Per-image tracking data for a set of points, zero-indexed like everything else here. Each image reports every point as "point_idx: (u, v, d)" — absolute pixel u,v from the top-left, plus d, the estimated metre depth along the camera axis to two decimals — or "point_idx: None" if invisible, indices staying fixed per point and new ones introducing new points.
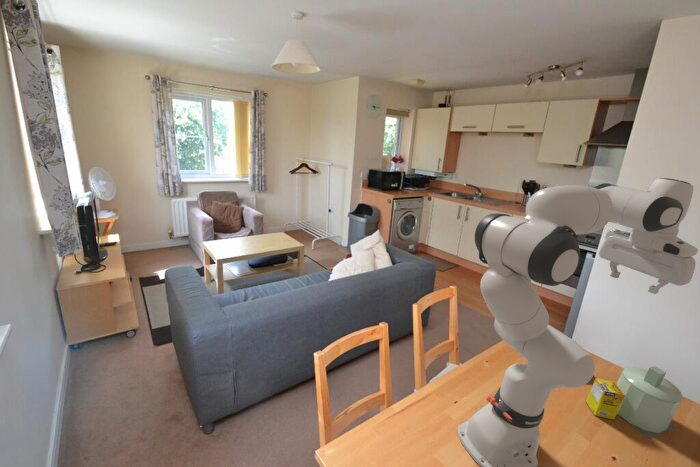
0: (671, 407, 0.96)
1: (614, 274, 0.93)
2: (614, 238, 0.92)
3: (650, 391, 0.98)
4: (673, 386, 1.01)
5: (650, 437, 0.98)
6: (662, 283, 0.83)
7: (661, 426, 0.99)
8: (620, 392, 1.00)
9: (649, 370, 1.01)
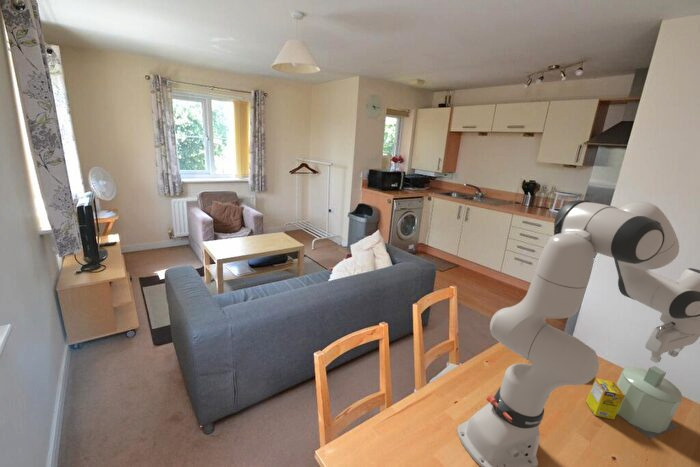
0: (671, 407, 0.96)
1: (659, 359, 0.97)
2: (672, 334, 0.91)
3: (650, 391, 0.98)
4: (673, 386, 1.01)
5: (650, 437, 0.98)
6: (683, 347, 0.99)
7: (661, 426, 0.99)
8: (620, 392, 1.00)
9: (649, 370, 1.01)
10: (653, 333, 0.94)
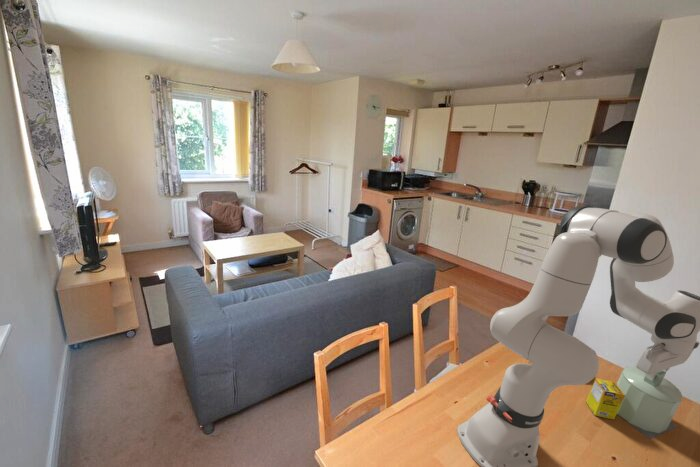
0: (671, 407, 0.96)
1: (655, 377, 1.00)
2: (662, 355, 0.94)
3: (650, 391, 0.98)
4: (673, 386, 1.01)
5: (650, 437, 0.98)
6: (669, 367, 1.01)
7: (661, 426, 0.99)
8: (620, 392, 1.00)
9: None
10: (643, 353, 0.96)
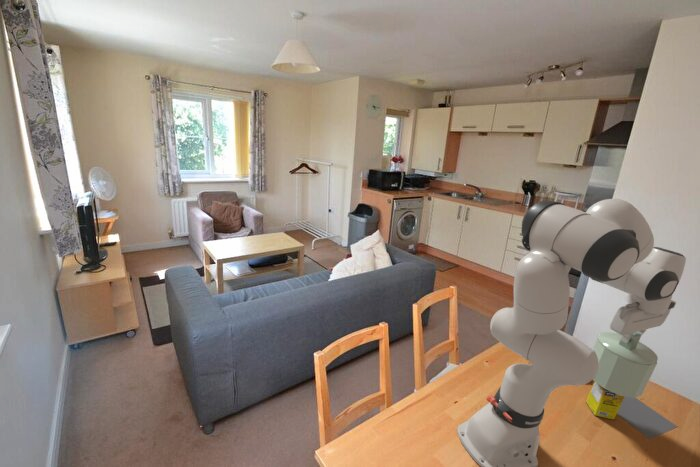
0: (646, 369, 0.92)
1: (630, 340, 0.95)
2: (635, 314, 0.89)
3: (624, 354, 0.94)
4: (649, 350, 0.97)
5: (650, 437, 0.98)
6: (645, 330, 0.96)
7: (636, 390, 0.94)
8: None
9: None
10: (617, 313, 0.92)
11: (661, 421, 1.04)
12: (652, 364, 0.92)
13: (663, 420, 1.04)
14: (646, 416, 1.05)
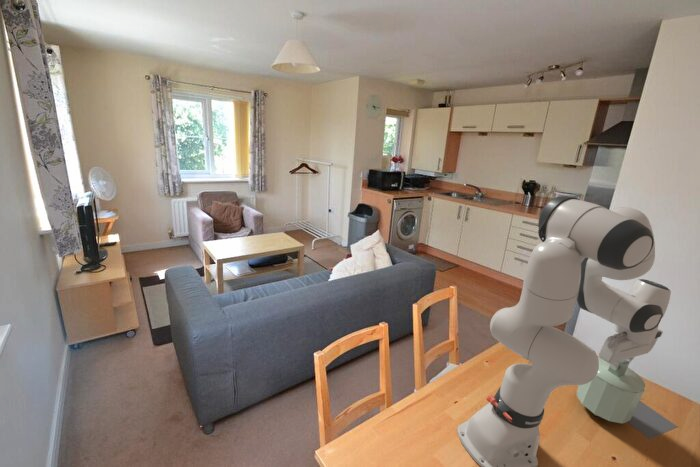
0: (633, 397, 0.95)
1: (618, 367, 0.98)
2: (623, 344, 0.93)
3: (613, 381, 0.97)
4: (637, 376, 1.00)
5: (650, 437, 0.98)
6: (633, 357, 0.99)
7: (624, 416, 0.97)
8: None
9: None
10: (605, 343, 0.95)
11: (661, 421, 1.04)
12: (639, 392, 0.95)
13: (663, 420, 1.04)
14: (646, 416, 1.05)
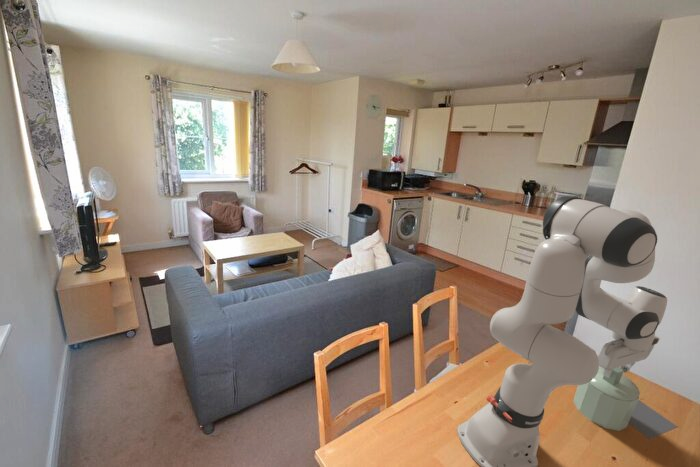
0: (628, 405, 0.96)
1: (611, 375, 0.98)
2: (620, 351, 0.93)
3: (607, 390, 0.98)
4: (632, 384, 1.01)
5: (650, 437, 0.98)
6: (634, 362, 1.01)
7: (620, 424, 0.98)
8: None
9: None
10: (602, 349, 0.95)
11: (661, 421, 1.04)
12: (634, 400, 0.96)
13: (663, 420, 1.04)
14: (646, 416, 1.05)
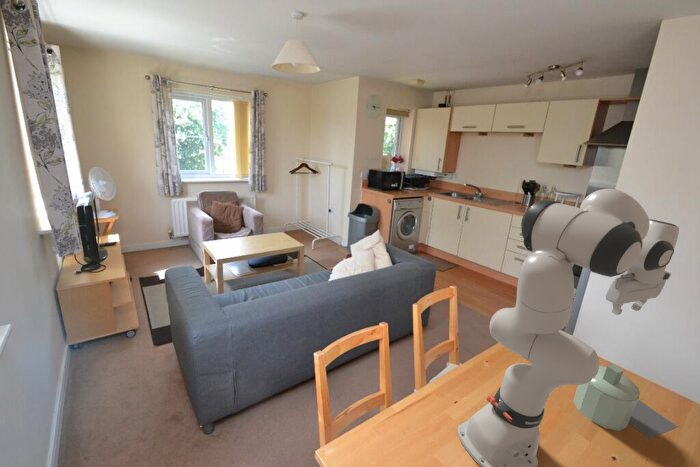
0: (628, 405, 0.96)
1: (620, 311, 0.98)
2: (630, 284, 0.93)
3: (607, 390, 0.98)
4: (632, 384, 1.01)
5: (650, 437, 0.98)
6: (646, 300, 1.00)
7: (620, 424, 0.98)
8: None
9: (607, 368, 1.01)
10: (612, 284, 0.95)
11: (661, 421, 1.04)
12: (634, 400, 0.96)
13: (663, 420, 1.04)
14: (646, 416, 1.05)
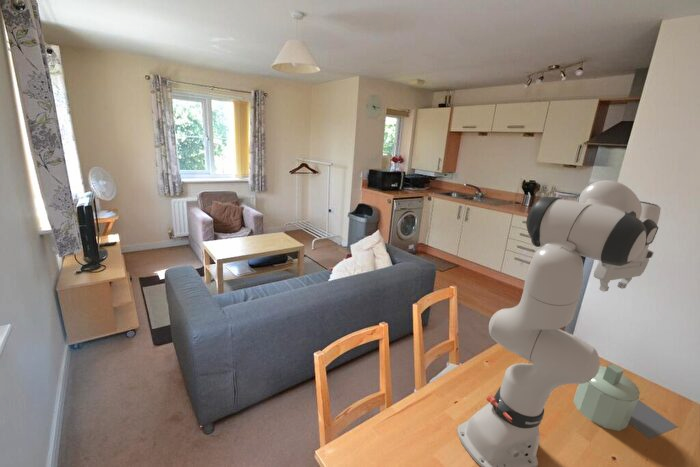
0: (628, 405, 0.96)
1: (607, 288, 1.04)
2: None
3: (607, 390, 0.98)
4: (632, 384, 1.01)
5: (650, 437, 0.98)
6: (631, 278, 1.07)
7: (620, 424, 0.98)
8: None
9: (607, 368, 1.01)
10: (600, 262, 1.01)
11: (661, 421, 1.04)
12: (634, 400, 0.96)
13: (663, 420, 1.04)
14: (646, 416, 1.05)
